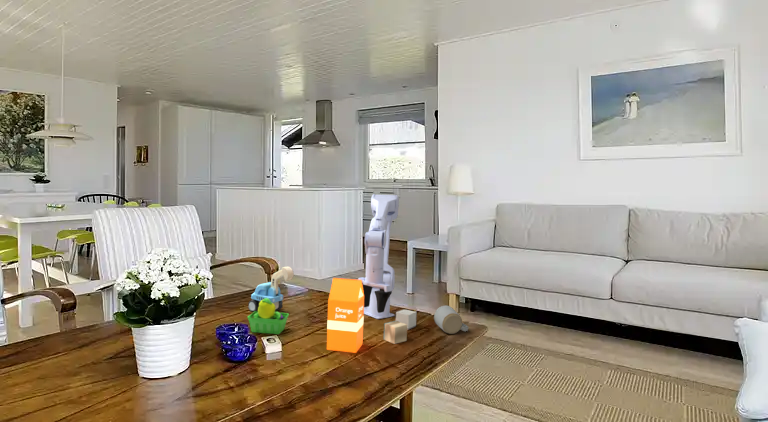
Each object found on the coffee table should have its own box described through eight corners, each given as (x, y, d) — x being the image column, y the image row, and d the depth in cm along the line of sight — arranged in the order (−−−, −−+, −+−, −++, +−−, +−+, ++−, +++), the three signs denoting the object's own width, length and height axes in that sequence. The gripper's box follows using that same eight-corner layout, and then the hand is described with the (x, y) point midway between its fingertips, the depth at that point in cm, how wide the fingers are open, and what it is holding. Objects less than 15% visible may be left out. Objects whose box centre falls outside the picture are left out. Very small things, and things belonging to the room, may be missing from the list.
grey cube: (395, 327, 157) (396, 312, 157) (403, 323, 161) (403, 309, 161) (408, 330, 155) (408, 315, 154) (415, 326, 159) (416, 311, 158)
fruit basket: (289, 328, 152) (290, 293, 151) (280, 337, 143) (281, 300, 142) (255, 326, 153) (255, 291, 152) (244, 334, 144) (245, 298, 143)
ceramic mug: (442, 335, 150) (443, 311, 149) (433, 327, 158) (434, 305, 157) (472, 334, 152) (474, 311, 152) (462, 326, 160) (463, 304, 160)
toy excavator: (280, 318, 162) (281, 269, 161) (245, 310, 170) (246, 263, 169) (297, 313, 169) (298, 266, 168) (262, 305, 177) (263, 260, 176)
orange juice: (356, 352, 132) (358, 282, 131) (326, 349, 134) (328, 280, 133) (362, 343, 140) (365, 277, 139) (334, 340, 142) (336, 275, 140)
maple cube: (384, 323, 144) (395, 327, 140) (396, 320, 147) (407, 324, 144) (383, 339, 144) (394, 343, 141) (395, 336, 148) (406, 340, 144)
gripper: (351, 265, 154) (349, 306, 155) (379, 272, 143) (378, 316, 144) (368, 263, 159) (366, 303, 160) (396, 270, 148) (395, 313, 149)
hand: (373, 309), depth 152 cm, fingers open, 7 cm apart
